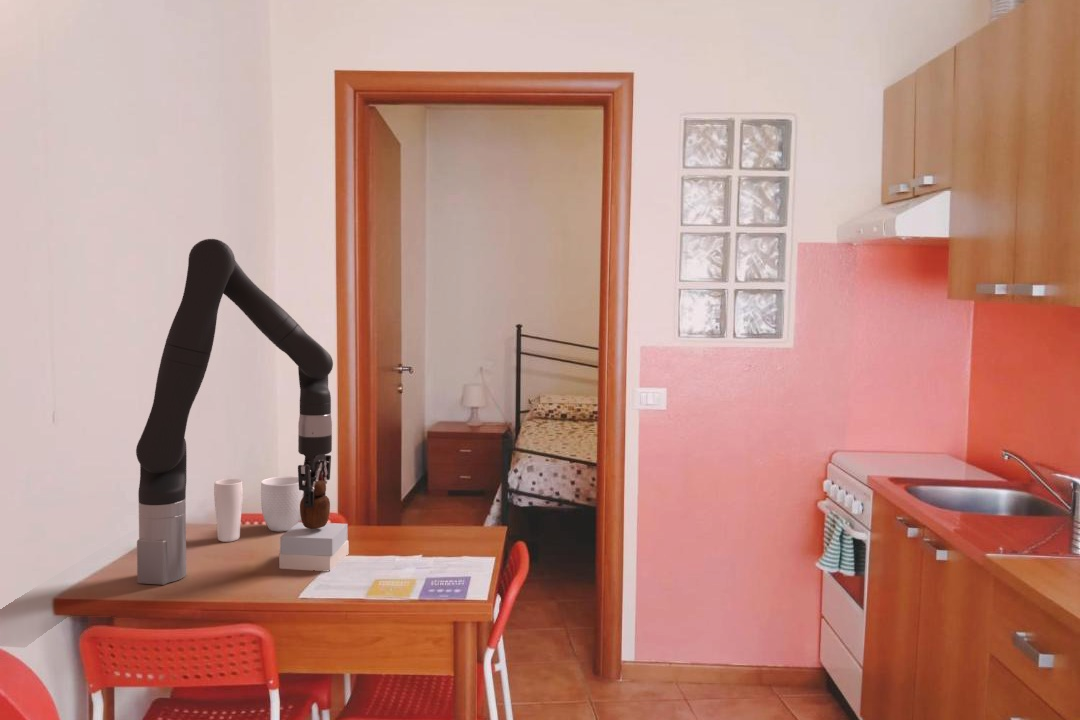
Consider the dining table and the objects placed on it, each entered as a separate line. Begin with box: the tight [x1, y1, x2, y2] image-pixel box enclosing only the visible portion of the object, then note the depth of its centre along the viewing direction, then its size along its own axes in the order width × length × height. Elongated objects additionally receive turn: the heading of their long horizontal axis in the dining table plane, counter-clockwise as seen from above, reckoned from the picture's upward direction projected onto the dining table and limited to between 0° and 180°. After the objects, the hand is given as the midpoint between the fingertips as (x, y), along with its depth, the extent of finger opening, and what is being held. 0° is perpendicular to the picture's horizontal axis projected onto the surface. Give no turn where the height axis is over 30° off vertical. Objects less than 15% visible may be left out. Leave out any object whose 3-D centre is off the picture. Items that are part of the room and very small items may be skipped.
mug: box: [260, 476, 304, 533], centre depth 206 cm, size 15×11×13 cm
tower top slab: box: [279, 521, 349, 556], centre depth 180 cm, size 12×12×4 cm
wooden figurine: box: [300, 473, 331, 529], centre depth 180 cm, size 7×6×15 cm
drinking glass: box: [213, 478, 244, 543], centre depth 195 cm, size 7×7×15 cm
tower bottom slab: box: [278, 539, 350, 572], centre depth 181 cm, size 12×12×4 cm
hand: (314, 503), depth 180 cm, fingers closed on wooden figurine, 6 cm apart
